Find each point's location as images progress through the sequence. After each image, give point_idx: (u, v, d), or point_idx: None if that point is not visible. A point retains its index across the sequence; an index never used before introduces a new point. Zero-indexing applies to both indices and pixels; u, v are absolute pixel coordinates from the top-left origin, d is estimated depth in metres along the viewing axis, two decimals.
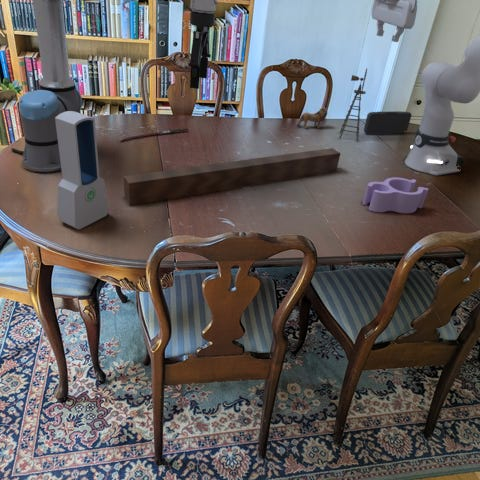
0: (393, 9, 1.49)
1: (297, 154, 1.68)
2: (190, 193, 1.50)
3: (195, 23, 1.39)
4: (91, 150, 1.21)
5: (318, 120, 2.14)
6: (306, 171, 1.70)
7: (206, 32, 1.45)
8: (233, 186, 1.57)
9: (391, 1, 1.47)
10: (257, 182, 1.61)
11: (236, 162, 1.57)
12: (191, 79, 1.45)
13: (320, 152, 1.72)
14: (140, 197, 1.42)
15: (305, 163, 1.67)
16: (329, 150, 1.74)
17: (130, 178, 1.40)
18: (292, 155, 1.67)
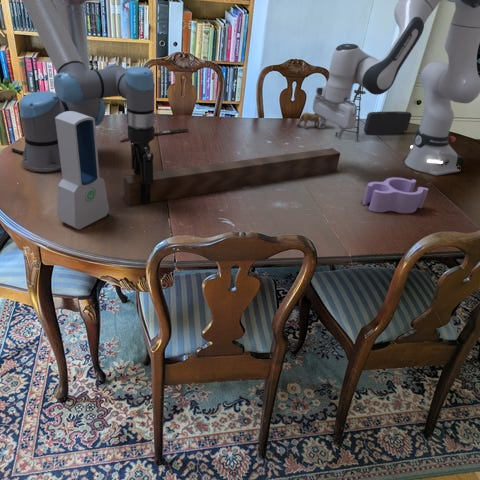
0: (334, 110, 1.62)
1: (297, 154, 1.68)
2: (190, 193, 1.50)
3: (140, 140, 1.31)
4: (91, 150, 1.21)
5: (318, 120, 2.14)
6: (306, 171, 1.70)
7: None
8: (233, 186, 1.57)
9: (332, 103, 1.60)
10: (257, 182, 1.61)
11: (236, 162, 1.57)
12: (143, 195, 1.41)
13: (320, 152, 1.72)
14: (140, 197, 1.42)
15: (305, 163, 1.67)
16: (329, 150, 1.74)
17: (130, 178, 1.40)
18: (292, 155, 1.67)
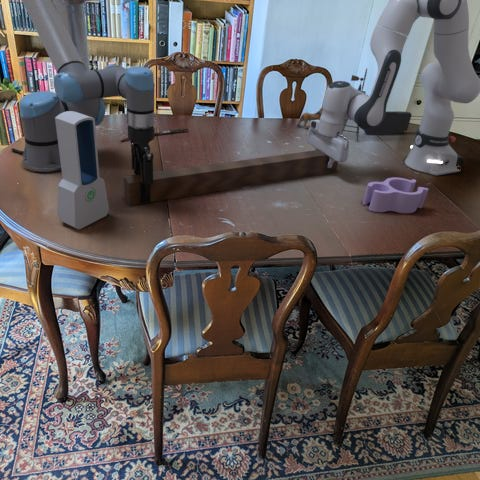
0: (327, 143, 1.68)
1: (297, 154, 1.68)
2: (190, 193, 1.50)
3: (140, 140, 1.31)
4: (91, 150, 1.21)
5: None
6: (306, 171, 1.70)
7: None
8: (233, 186, 1.57)
9: (325, 137, 1.67)
10: (257, 182, 1.61)
11: (236, 162, 1.57)
12: (143, 195, 1.41)
13: (320, 152, 1.72)
14: (140, 197, 1.42)
15: (305, 163, 1.67)
16: None
17: (130, 178, 1.40)
18: (292, 155, 1.67)
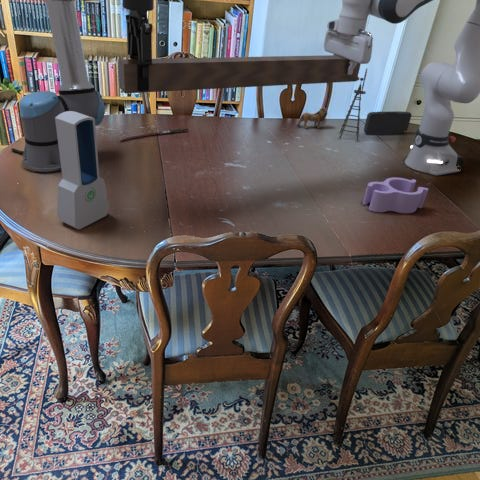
0: (348, 44, 1.50)
1: (314, 56, 1.50)
2: (194, 87, 1.32)
3: (137, 7, 1.13)
4: (91, 150, 1.21)
5: (318, 120, 2.14)
6: (323, 77, 1.51)
7: None
8: (242, 84, 1.39)
9: (346, 36, 1.49)
10: (269, 83, 1.43)
11: (246, 57, 1.39)
12: (140, 81, 1.23)
13: (339, 56, 1.53)
14: (137, 85, 1.23)
15: (323, 66, 1.49)
16: None
17: (125, 61, 1.22)
18: (308, 57, 1.49)
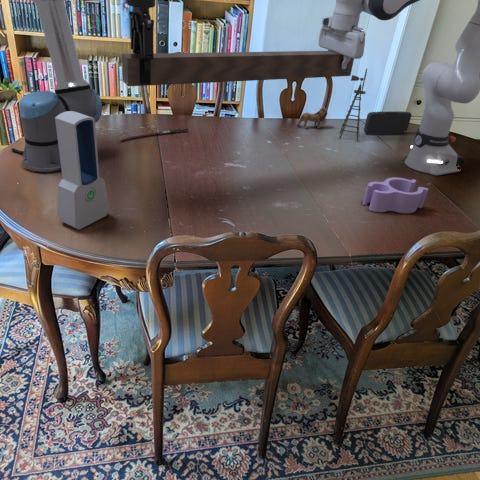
0: (341, 40, 1.56)
1: (309, 52, 1.56)
2: (194, 81, 1.38)
3: (139, 4, 1.19)
4: (91, 150, 1.21)
5: (318, 120, 2.14)
6: (318, 71, 1.57)
7: None
8: (240, 78, 1.45)
9: (339, 33, 1.55)
10: (266, 77, 1.49)
11: (244, 52, 1.45)
12: (142, 74, 1.29)
13: (333, 52, 1.60)
14: None
15: (317, 61, 1.55)
16: None
17: (128, 55, 1.28)
18: (304, 52, 1.55)
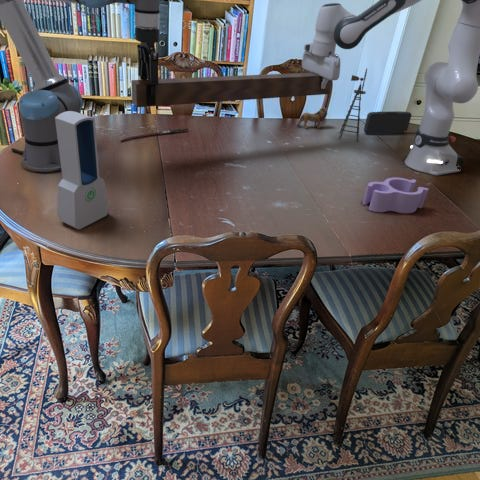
0: (321, 64, 1.80)
1: (292, 74, 1.80)
2: (193, 101, 1.62)
3: (147, 40, 1.43)
4: (91, 150, 1.21)
5: (318, 120, 2.14)
6: (300, 91, 1.81)
7: None
8: (232, 98, 1.69)
9: (319, 57, 1.79)
10: (255, 97, 1.73)
11: (235, 76, 1.69)
12: (148, 97, 1.53)
13: (314, 74, 1.84)
14: (146, 100, 1.54)
15: (299, 82, 1.79)
16: None
17: (137, 81, 1.52)
18: (287, 74, 1.79)
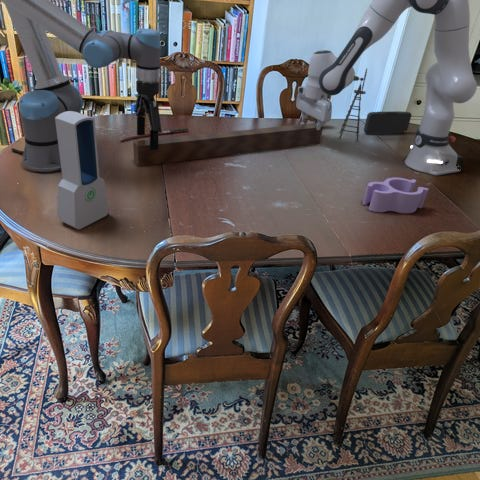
0: (313, 106, 1.90)
1: (284, 127, 1.92)
2: (191, 158, 1.73)
3: (147, 93, 1.52)
4: (91, 150, 1.21)
5: None
6: (292, 142, 1.93)
7: None
8: (227, 153, 1.80)
9: (311, 100, 1.88)
10: (249, 150, 1.84)
11: (230, 132, 1.80)
12: (151, 142, 1.58)
13: (305, 126, 1.95)
14: (147, 159, 1.65)
15: (291, 135, 1.91)
16: (313, 124, 1.98)
17: (138, 142, 1.63)
18: (280, 128, 1.90)
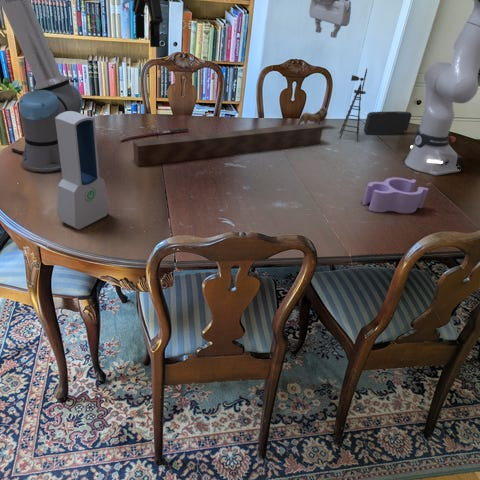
0: (330, 9, 1.70)
1: (284, 127, 1.92)
2: (191, 158, 1.73)
3: None
4: (91, 150, 1.21)
5: (318, 120, 2.14)
6: (292, 142, 1.93)
7: None
8: (227, 153, 1.80)
9: (328, 2, 1.69)
10: (249, 150, 1.84)
11: (230, 132, 1.80)
12: (152, 37, 1.40)
13: (305, 126, 1.95)
14: (147, 159, 1.65)
15: (291, 135, 1.91)
16: (313, 124, 1.98)
17: (138, 142, 1.63)
18: (280, 128, 1.90)
